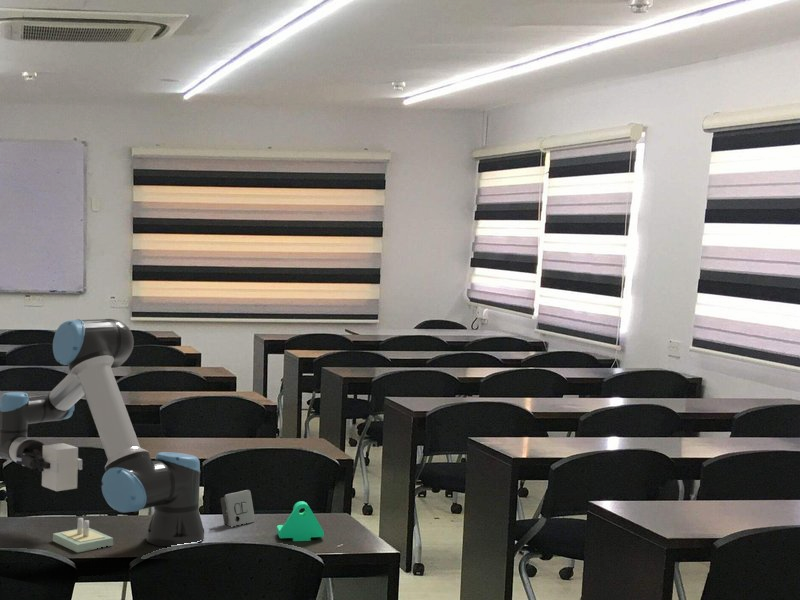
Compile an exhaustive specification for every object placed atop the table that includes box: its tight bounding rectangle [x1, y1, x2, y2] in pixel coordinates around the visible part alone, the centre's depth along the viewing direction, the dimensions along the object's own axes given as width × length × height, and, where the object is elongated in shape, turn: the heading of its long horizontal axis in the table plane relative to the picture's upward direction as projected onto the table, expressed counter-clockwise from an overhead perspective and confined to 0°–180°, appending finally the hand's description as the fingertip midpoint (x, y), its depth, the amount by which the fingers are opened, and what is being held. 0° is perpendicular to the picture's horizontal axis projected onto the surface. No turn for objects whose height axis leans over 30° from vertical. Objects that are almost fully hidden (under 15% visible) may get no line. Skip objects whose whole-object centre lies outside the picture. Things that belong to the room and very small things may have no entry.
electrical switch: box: [220, 489, 256, 527], centre depth 286 cm, size 9×5×9 cm, turn 141°
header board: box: [52, 517, 114, 553], centre depth 261 cm, size 13×10×6 cm
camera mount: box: [276, 500, 325, 542], centre depth 275 cm, size 12×8×10 cm, turn 104°
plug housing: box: [41, 442, 79, 492], centre depth 269 cm, size 8×6×11 cm
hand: (69, 466), depth 266 cm, fingers closed on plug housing, 6 cm apart
